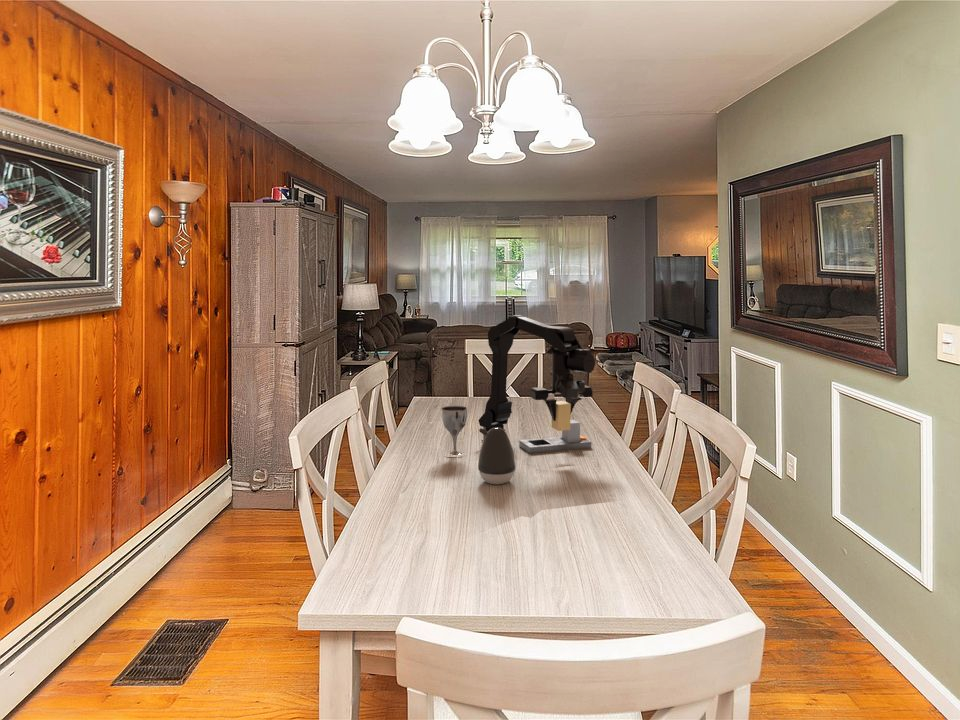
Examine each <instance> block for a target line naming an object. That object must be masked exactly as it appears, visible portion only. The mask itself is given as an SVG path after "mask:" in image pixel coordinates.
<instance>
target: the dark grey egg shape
mask: <svg viewBox="0 0 960 720" xmlns="http://www.w3.org/2000/svg"><path fill="white" fill-rule="evenodd" d="M478 432H479V433H480V434H482V435H483V434H484V435H485V438H484V440H483V439H482V440H483V442H482V444H481V447H480V451H479V455H478V464H477V469H478V471H479V475H480V477H481V478H482V480H483V481H484V482H486V483H488V484H491V485H503V484H507V483H508V482H509V481H510V480H511V479H512V478H513V476H514V472H515V471H516V460H515V459H516V458H515V454H514V449H513V445H512V443H511V440H510V438H509V435H508V434H507V432H506V430H505V431H504V430H503V429H502V428H499V427H494V428H492V429H490V430H489V431H486V430H484V429H483V428H479V430H478Z"/></svg>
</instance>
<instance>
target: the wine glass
mask: <svg viewBox="0 0 960 720" xmlns="http://www.w3.org/2000/svg"><path fill="white" fill-rule="evenodd" d="M467 417H468V408H467V407H466V406H464V405H447V406H443V407H442V408H441V418H442V419H441V421H442V424H443V426H444V428H445V429H446V430H447V431H448V432H449V434H450V435H451V437H452V442H453V451H449V452H450V454H452V455H461V454H462V453H461V452H462V451H458V450H457V440H458V436H459V434H460V433H461V432H462V431H463V429H464V428H465V426H466V422H467Z"/></svg>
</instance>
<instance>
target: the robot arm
mask: <svg viewBox="0 0 960 720" xmlns="http://www.w3.org/2000/svg"><path fill="white" fill-rule="evenodd" d="M520 331H522V332H525V333H527V334H530V335H533V336H536V337H539V338H541V339H543V340H544V341H545V342H546V343H547V344H548V345H550V346H551V347H550V348H549V349H548V350H546V354H547V355H552V356H551V357H552V359H551V360H552V362H551V367H552V368H551V369H552V370H551V371H550V376H551V385H550V389H546V388H544V387H541V386H539V387H531V388H530V389H529V392H528V393H529V395H528V396H529V397H530V398H531V399H533V400H535V401H544V402H545V404H546V406H547V408H548V411H549V413H550V416H551V420H552V419H553V421H556V407H555V404H556V401H558V400H557V399H555V397H556V396H562V398H564V399H565V401H566V402H568V403H570V404H571V414H572V412H573V410H574V408H575V405H576V403H578V402H579V401H581V400H582V397H583V398H592V397H594V389H593V388H592V386H588V385H586V382H585V381H584V380H574V379H575V378H574V374H573V373H572V372H577V373H585V374H591V373H592V372H593V371H594V370H595V367H596V360H595V359H596V358H595V357H594V355H593V354H592V350H591V349H583V348H582V345H581V344H580V342H579V340H578V339H577V336H576V334H575V331H574V329H573V328H571V327H567V326H559V325H557V326H555V325H549V324H546V323H544V322H541V321H537V320H536V319H532V318H529V317H526V316H525V315H523V314H514V315H511V316H510V317H508V318H507V319H506V320H504V321H503V320H502V321H501V322H499V323H498V324H496V325H495V326H492V327H490V329H488V331H487V342H488V346H489V348H490V351H491V353H492V359H491V360H492V361H491V362H492V364H491V385H490V386H491V387H490V388H491V389H490V396H489V397H488V399H487V401H486V403H485V409H484V413H483V414H482V415H481V416H480V418H479V419H478V424H479V426H480V427H483V428H482V429H484V430H486V431H489V430H490V429H492V428H494V427H499V428H502V429H503V430H504V431H505V432H506V429H505V428H504V427H505V426H504V425H507V424H508V421H509V418H510V417H511V414H512V413H513V411H512V407H513V405H512V404H513V402H512V401H511V400H509V398H508V397H507V379H508V378H507V377H508V354H509V351H510V350H511V348H512V347H513V344H514V338H515V336H517V335H518V334H519V333H520ZM580 395H581V396H582V397H581V396H580ZM482 435H483V437H482V438H483V439H481V442H482V443H483V440H484V438H485V435H484V434H482Z"/></svg>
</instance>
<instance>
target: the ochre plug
mask: <svg viewBox="0 0 960 720" xmlns="http://www.w3.org/2000/svg"><path fill="white" fill-rule="evenodd" d="M555 407H556V421H553V419H552V418H551V428H553V429H554V430H556V431H557V432H559V431H560V432H562V431H563V430H570V420H571V417H572V416H571V415H572V413H571V404H570V403H568V402H566V400H559V401H558V400H557V401H556V404H555Z"/></svg>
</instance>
